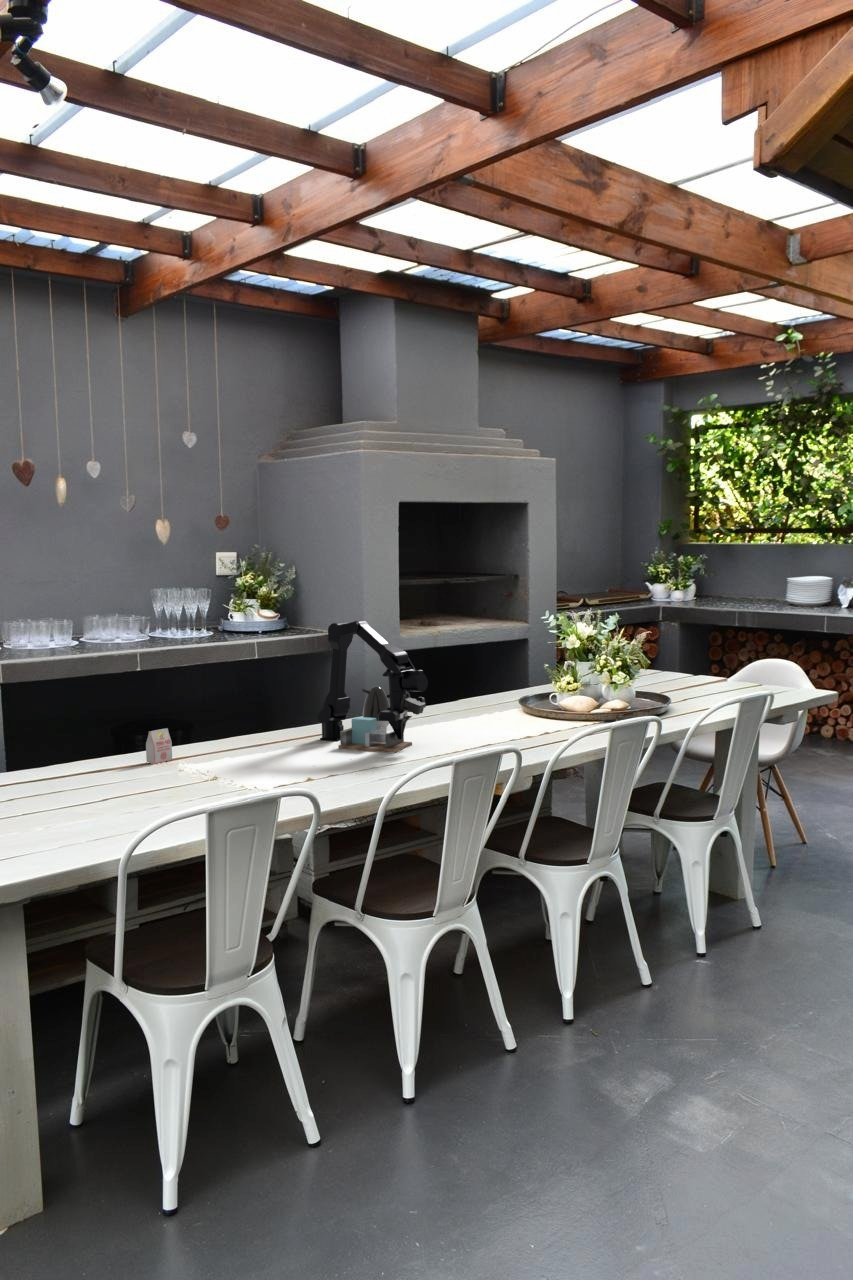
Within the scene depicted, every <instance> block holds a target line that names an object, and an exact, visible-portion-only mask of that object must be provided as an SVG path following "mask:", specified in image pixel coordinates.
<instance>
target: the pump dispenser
mask: <svg viewBox="0 0 853 1280" xmlns="http://www.w3.org/2000/svg"><path fill="white" fill-rule="evenodd" d="M360 690H361V692H362V693H364V694H366V697H365V700H364V704H363V709H362V717H366V718H376V720H377V729H378V728H380V727H386V728H387V727H388V726H389V725H390V723H389V722H388V721H378V714H379V713H380V712H381V711H384V710H387V707H390V703H389V698H387V694H386V691H385V690H384V689H383V687H382V686H379V685H374V686H372V687H371V688H369V690H368V689H366V688H362V689H360Z"/></svg>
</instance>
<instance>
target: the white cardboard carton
mask: <svg viewBox="0 0 853 1280" xmlns="http://www.w3.org/2000/svg"><path fill="white" fill-rule="evenodd" d="M172 744H173V743H172V739H171V736H170V733H169V728H168V727H166V728H161V729H155V730H151V731H150V730H149V731H148V735H147V739H146V742H145V750H146V751H145V753H146V755H145V756H146V759H145V760H146V763H147V762H149V763H151V764H150V765H153V764H156V765H159V764H158V763H160V764H163V763H162V762H165V763H167V762H166V761H169V760H172V761H173V745H172ZM169 762H170V761H169Z"/></svg>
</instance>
